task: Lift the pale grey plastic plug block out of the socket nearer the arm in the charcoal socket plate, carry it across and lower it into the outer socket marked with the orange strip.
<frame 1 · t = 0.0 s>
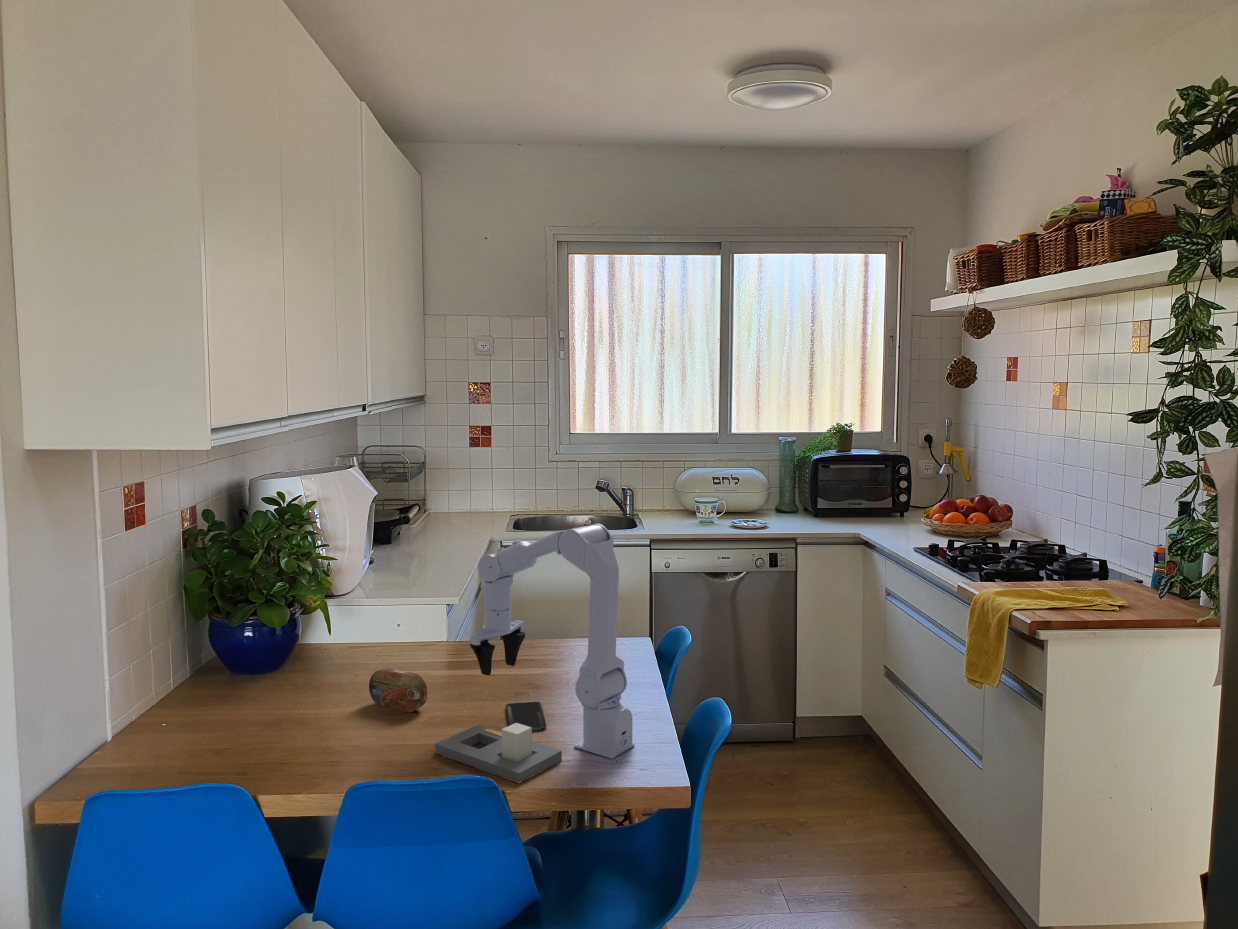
hand: (498, 669, 192), 10 cm above the table, tool pointing down, fingers open, 7 cm apart
plug: (517, 764, 168), resting in socket plate
socket plate: (497, 757, 171), on the table
tin: (398, 708, 197), on the table
phone: (525, 720, 191), on the table
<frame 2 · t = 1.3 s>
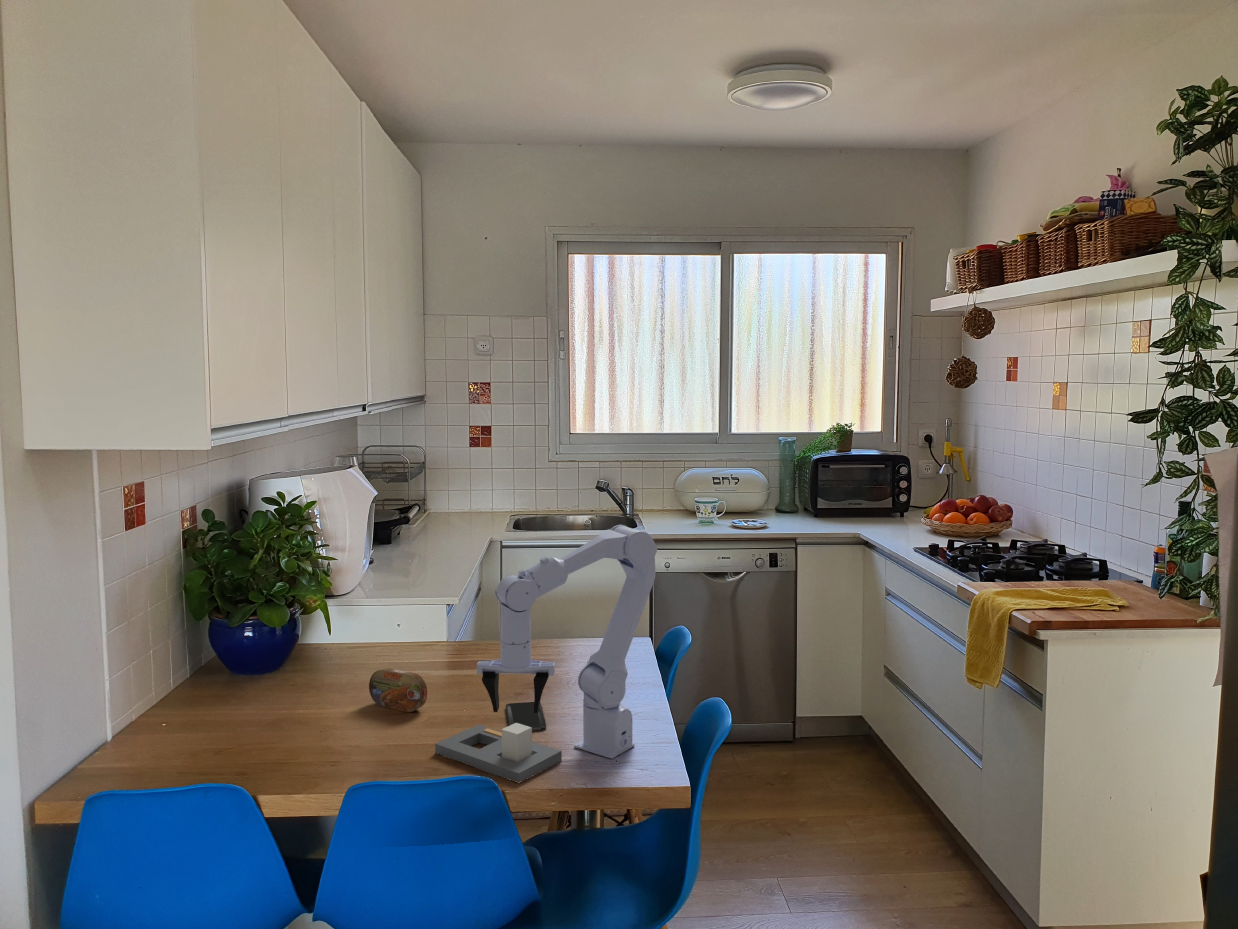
hand: (516, 710, 167), 10 cm above the table, tool pointing down, fingers open, 7 cm apart
nothing on the table moved.
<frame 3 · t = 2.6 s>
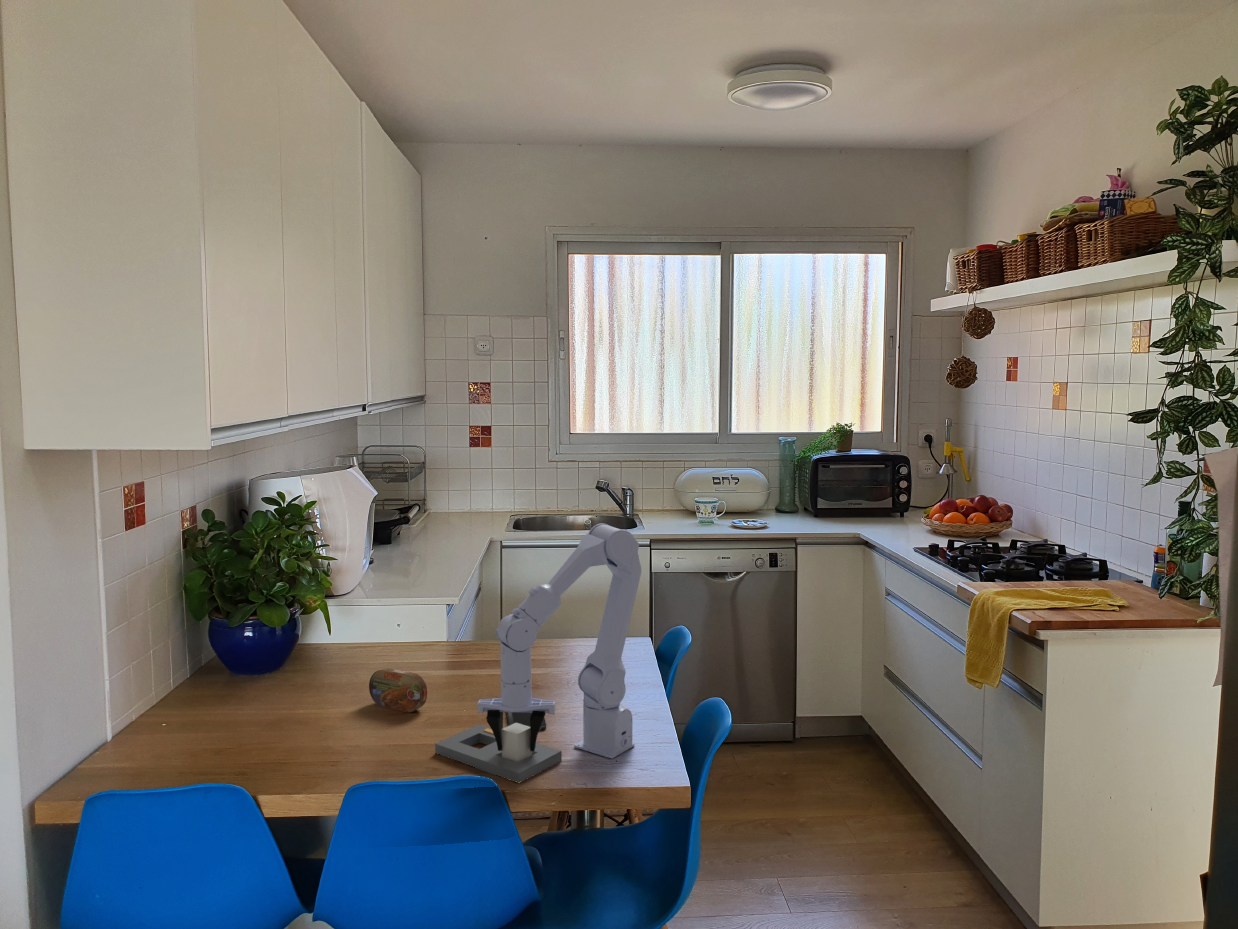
hand: (516, 749, 168), 3 cm above the table, tool pointing down, fingers closed on plug, 5 cm apart
plug: (517, 764, 168), resting in socket plate, touching gripper
everything else where it was.
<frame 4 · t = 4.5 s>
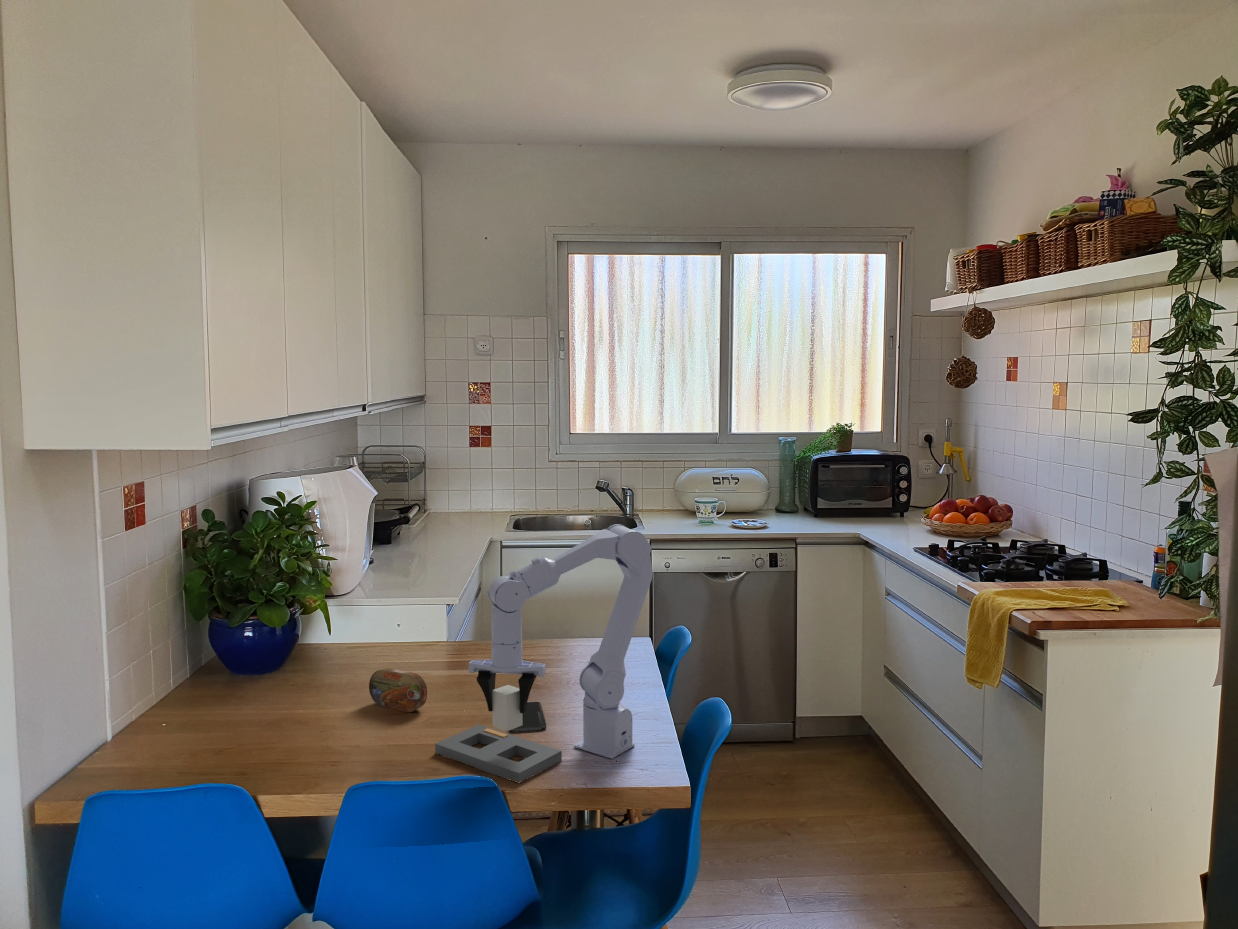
hand: (507, 710, 169), 10 cm above the table, tool pointing down, fingers closed on plug, 5 cm apart
plug: (507, 725, 169), point 7 cm above the table, touching gripper
everything else where it was.
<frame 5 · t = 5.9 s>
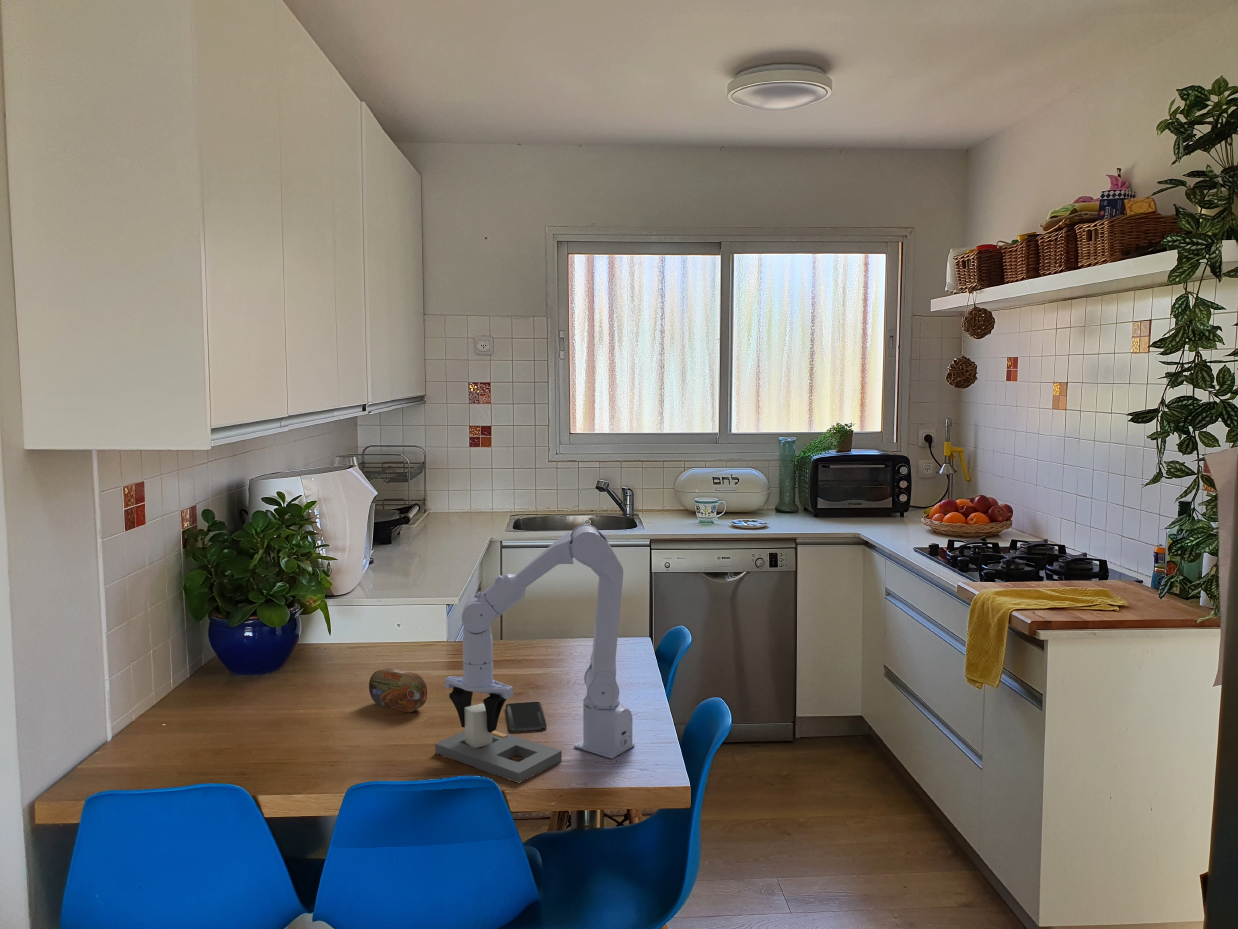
hand: (478, 728, 174), 5 cm above the table, tool pointing down, fingers closed on plug, 5 cm apart
plug: (478, 743, 174), point 2 cm above the table, touching gripper
everything else where it was.
when the fingers open (4 cm above the table, at t = 6.6 s): plug drops 1 cm, resting in socket plate.
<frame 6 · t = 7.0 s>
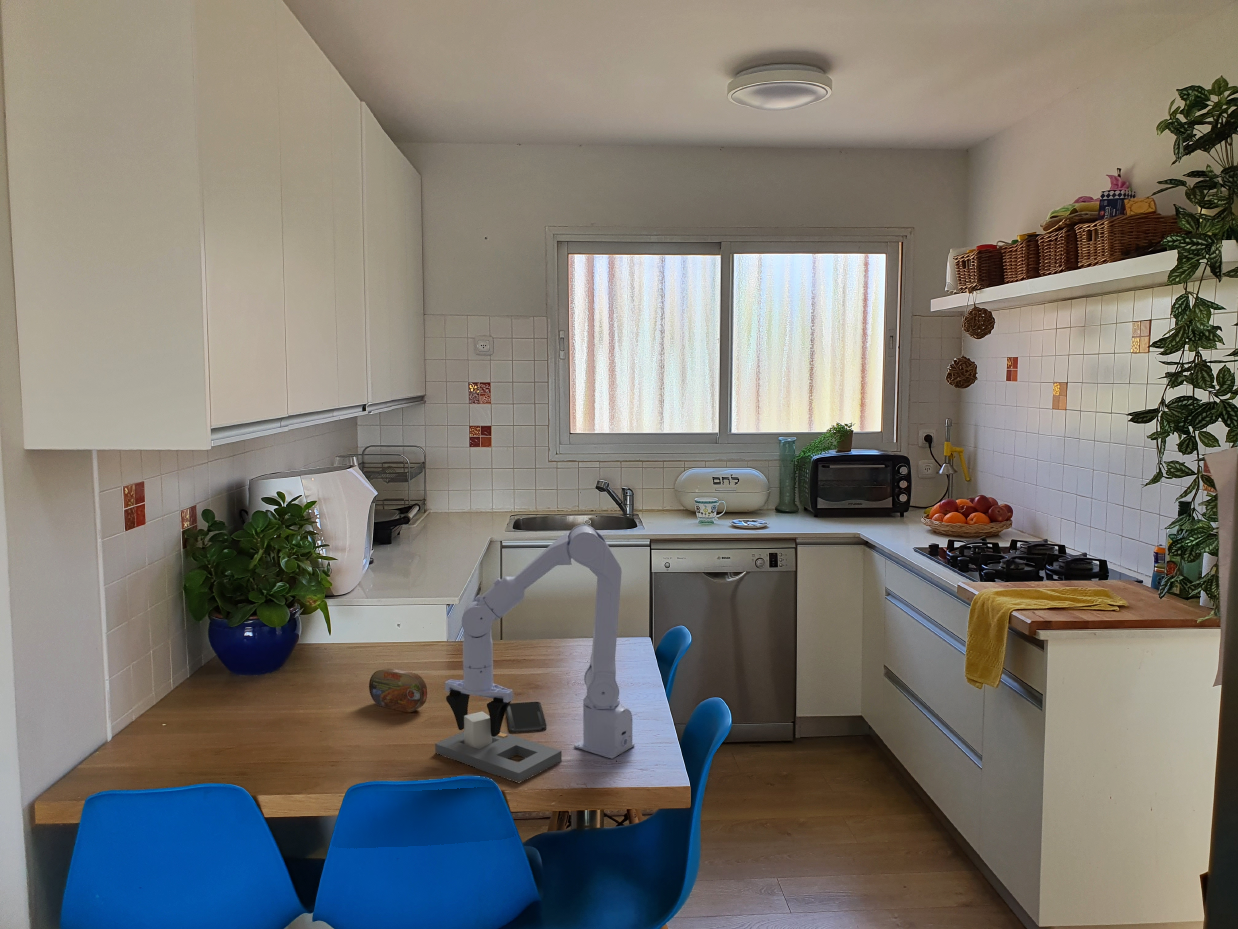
hand: (479, 731, 174), 4 cm above the table, tool pointing down, fingers open, 7 cm apart
plug: (478, 751, 174), resting in socket plate
everything else where it was.
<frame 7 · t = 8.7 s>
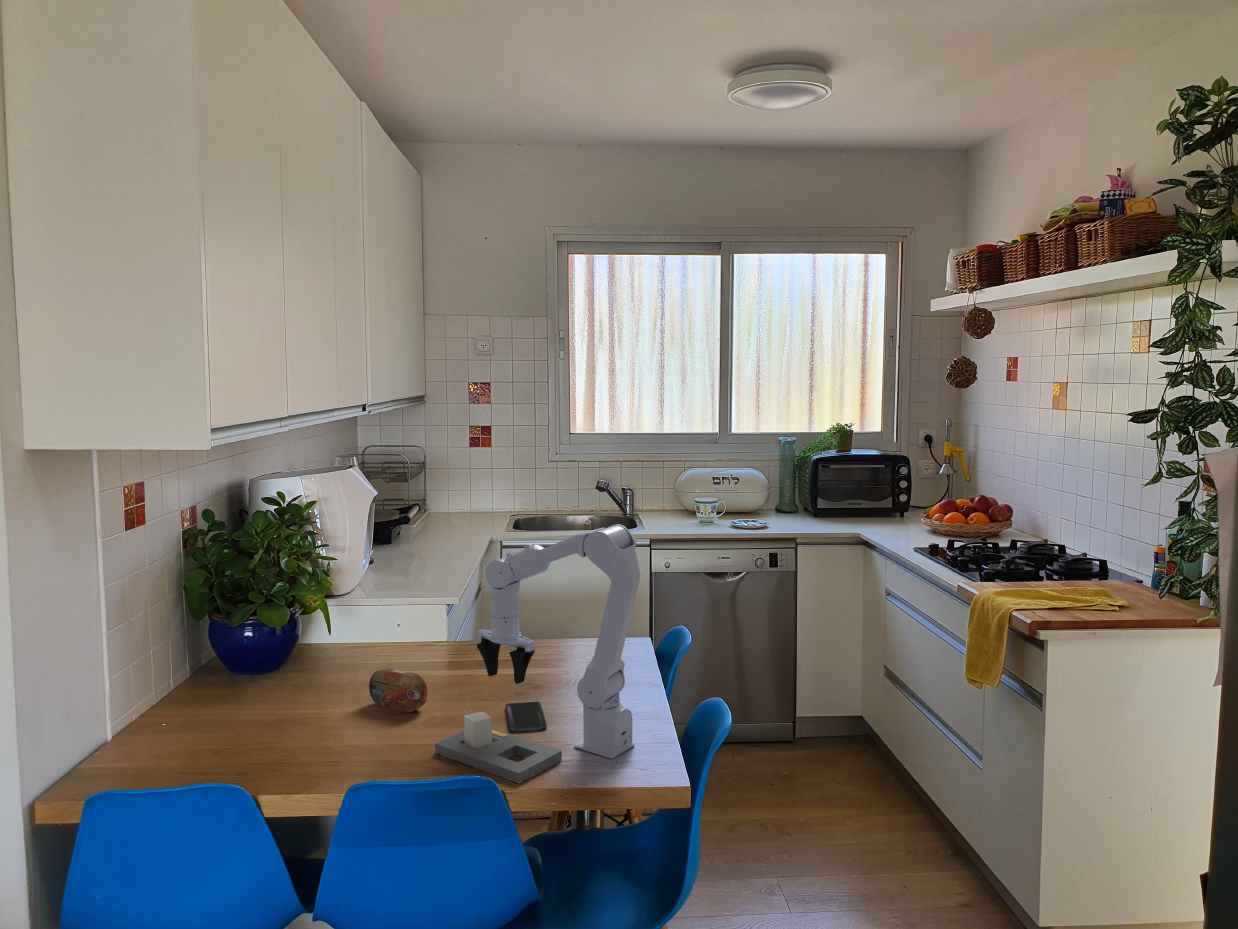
hand: (506, 678, 185), 10 cm above the table, tool pointing down, fingers open, 7 cm apart
nothing on the table moved.
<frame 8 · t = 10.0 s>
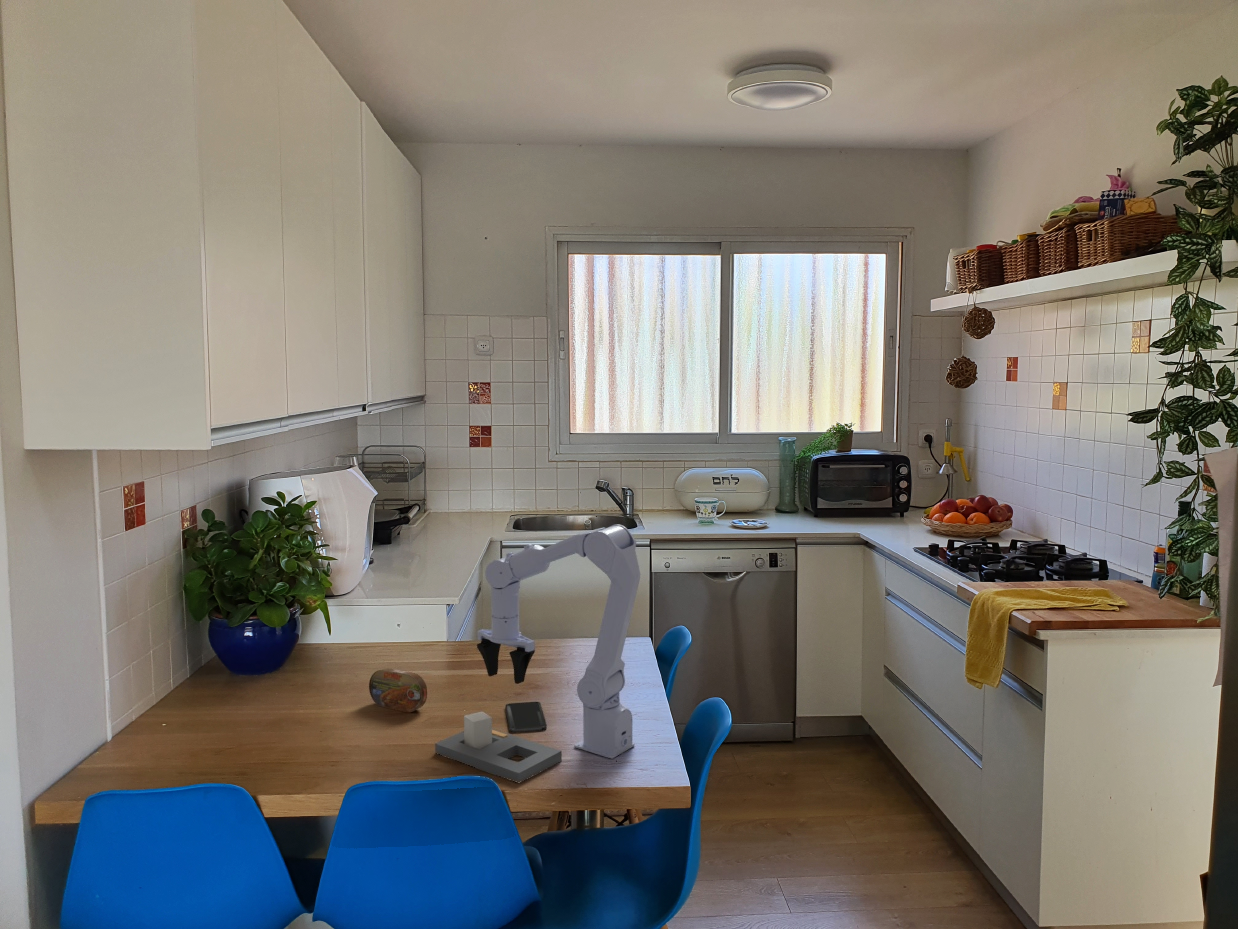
hand: (506, 678, 185), 10 cm above the table, tool pointing down, fingers open, 7 cm apart
nothing on the table moved.
at the end: plug 0.2 cm from the target spot on the socket plate, point 0.0 cm above the socket plate's base; plug tilted 0°; the gripper is holding nothing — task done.
